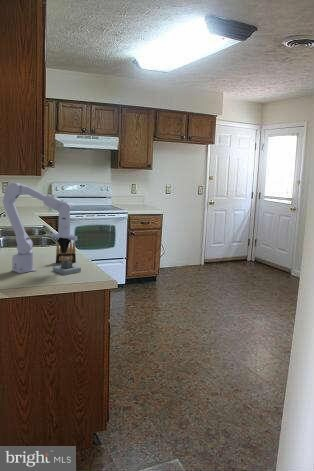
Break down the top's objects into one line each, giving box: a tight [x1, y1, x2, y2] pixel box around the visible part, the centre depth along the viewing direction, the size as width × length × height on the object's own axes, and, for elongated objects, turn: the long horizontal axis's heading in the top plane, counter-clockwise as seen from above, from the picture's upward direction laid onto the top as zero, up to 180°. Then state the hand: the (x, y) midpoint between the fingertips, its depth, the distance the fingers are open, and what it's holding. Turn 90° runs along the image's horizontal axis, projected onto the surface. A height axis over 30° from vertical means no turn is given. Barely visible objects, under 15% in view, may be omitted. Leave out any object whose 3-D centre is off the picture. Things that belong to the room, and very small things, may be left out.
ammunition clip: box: [55, 241, 77, 264], centre depth 227 cm, size 11×2×12 cm, turn 113°
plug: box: [60, 257, 73, 269], centre depth 208 cm, size 4×4×7 cm
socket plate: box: [52, 264, 82, 276], centre depth 209 cm, size 10×10×2 cm
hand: (64, 253), depth 208 cm, fingers closed
